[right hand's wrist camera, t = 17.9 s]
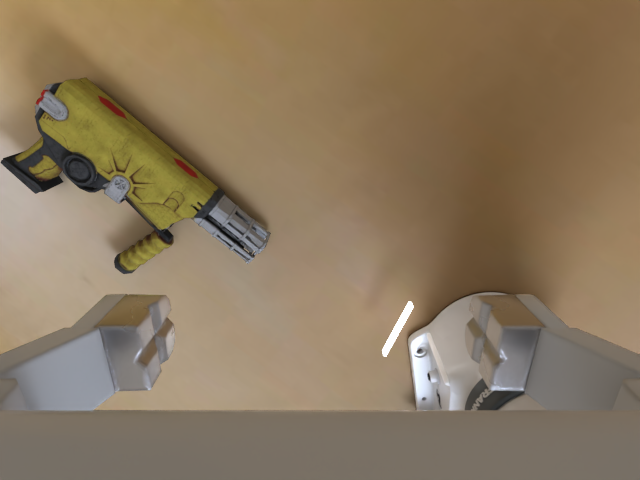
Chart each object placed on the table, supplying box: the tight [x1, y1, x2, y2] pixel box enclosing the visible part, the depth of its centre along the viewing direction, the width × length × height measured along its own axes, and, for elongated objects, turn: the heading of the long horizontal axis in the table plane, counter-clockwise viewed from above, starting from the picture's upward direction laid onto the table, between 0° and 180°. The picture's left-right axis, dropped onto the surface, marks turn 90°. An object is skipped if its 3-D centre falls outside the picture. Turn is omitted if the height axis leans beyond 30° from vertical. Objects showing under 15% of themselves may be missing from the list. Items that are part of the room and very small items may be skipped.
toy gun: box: [1, 78, 271, 274], centre depth 39 cm, size 5×24×15 cm
